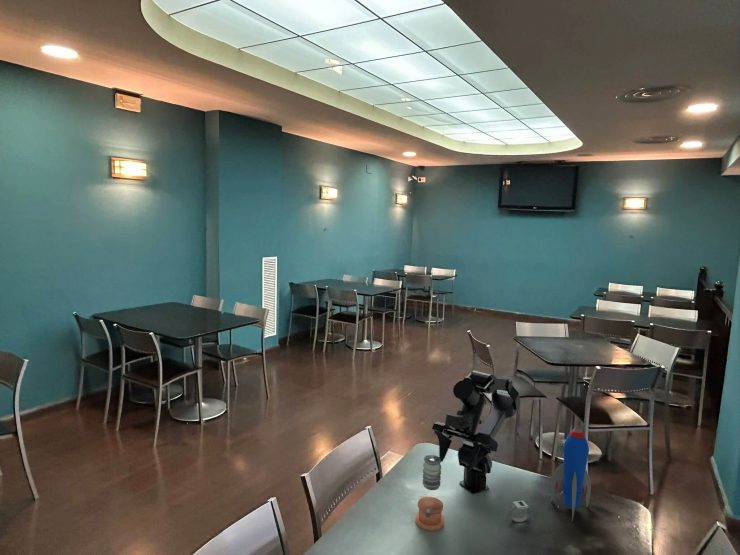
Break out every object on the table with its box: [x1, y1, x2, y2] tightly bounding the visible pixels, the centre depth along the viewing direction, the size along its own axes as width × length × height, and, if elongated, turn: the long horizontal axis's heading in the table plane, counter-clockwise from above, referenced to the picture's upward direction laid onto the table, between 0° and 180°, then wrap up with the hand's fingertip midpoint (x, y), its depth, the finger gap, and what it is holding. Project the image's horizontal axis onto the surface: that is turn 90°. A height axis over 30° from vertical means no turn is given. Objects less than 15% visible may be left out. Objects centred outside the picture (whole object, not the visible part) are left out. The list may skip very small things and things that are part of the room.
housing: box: [415, 496, 445, 532], centre depth 121 cm, size 8×8×5 cm
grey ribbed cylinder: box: [422, 454, 442, 491], centre depth 120 cm, size 5×5×8 cm
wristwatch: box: [507, 500, 532, 523], centre depth 122 cm, size 6×3×5 cm, turn 101°
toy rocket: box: [549, 424, 592, 522], centre depth 125 cm, size 11×10×25 cm
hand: (454, 466), depth 125 cm, fingers open, 9 cm apart
